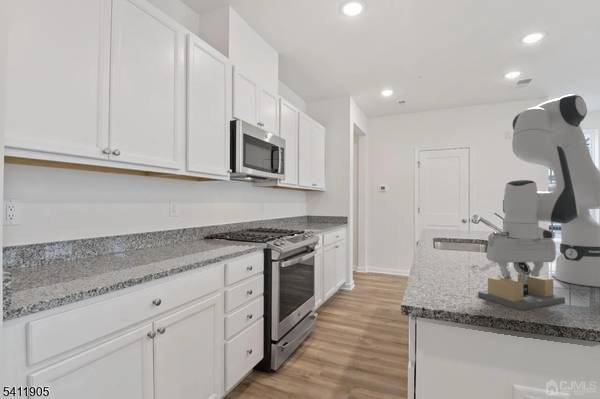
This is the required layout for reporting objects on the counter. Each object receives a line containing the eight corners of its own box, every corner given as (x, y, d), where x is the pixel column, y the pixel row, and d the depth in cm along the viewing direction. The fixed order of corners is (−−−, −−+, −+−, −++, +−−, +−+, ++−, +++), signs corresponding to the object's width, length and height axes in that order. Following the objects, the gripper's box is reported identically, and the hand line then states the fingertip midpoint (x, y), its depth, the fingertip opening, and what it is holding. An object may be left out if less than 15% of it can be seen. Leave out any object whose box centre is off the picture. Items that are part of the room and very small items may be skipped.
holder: (519, 290, 102) (519, 271, 102) (564, 302, 90) (564, 280, 90) (478, 296, 95) (478, 276, 95) (520, 310, 83) (521, 286, 83)
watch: (522, 297, 89) (520, 260, 89) (496, 290, 97) (495, 256, 97) (535, 295, 91) (533, 259, 91) (509, 289, 98) (508, 255, 99)
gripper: (496, 233, 89) (495, 279, 89) (560, 233, 90) (560, 278, 90) (481, 231, 95) (481, 274, 95) (542, 231, 97) (542, 273, 97)
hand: (520, 276), depth 93 cm, fingers open, 8 cm apart
